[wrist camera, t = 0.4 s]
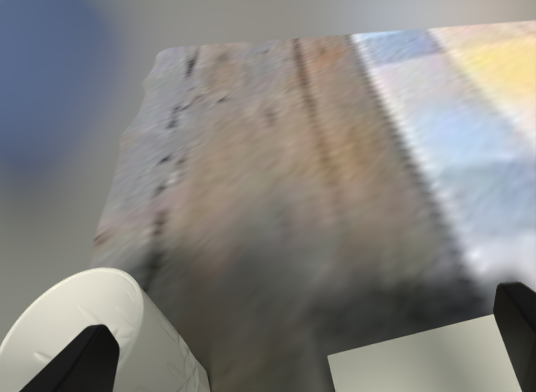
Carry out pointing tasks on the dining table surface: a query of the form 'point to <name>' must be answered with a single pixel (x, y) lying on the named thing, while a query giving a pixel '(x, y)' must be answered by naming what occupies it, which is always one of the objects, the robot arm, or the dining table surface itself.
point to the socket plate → (430, 362)
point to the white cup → (119, 323)
